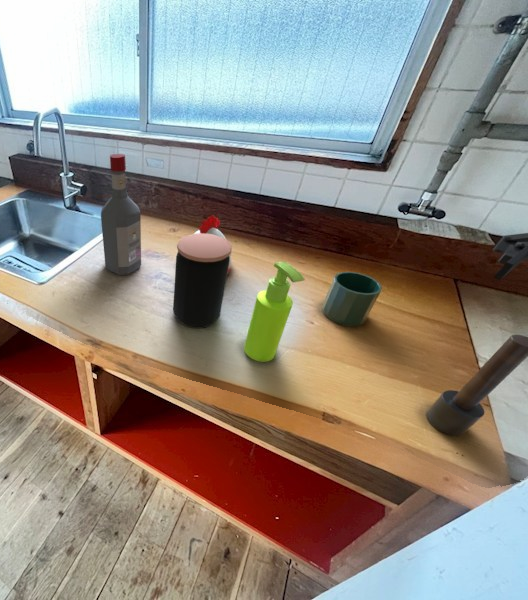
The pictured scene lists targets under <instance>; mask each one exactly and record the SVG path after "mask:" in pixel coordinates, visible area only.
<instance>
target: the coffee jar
mask: <svg viewBox="0 0 528 600" xmlns="http://www.w3.org/2000/svg"><path fill="white" fill-rule="evenodd" d="M225 238H226V237H225ZM225 238H222V237H220V236H217V235H212V234H204V233H200V234H194V233H191V234H187V235H184V236H183V237H180V239H179V240H178V241H177V244H176V248H177V253H176V257H175V271H174V286H173V287H174V288H173V304H172V310H173V315H174V317H176V319H177V320H178V321H179V322H180V323H181V324H183V325H184V326H187V327H190V328H194V329H202V328H204V329H205V328H207V327H211V326H212V325H213V324H215V323H216V322H218V320H219V318H220V317H221V313H222V312H221V311H222V305H223V300H224V295H225V289H226V283H227V278H228V274H229V273H228V267H229V261H230V256H229V254H230V253H231V254H232V251H231V249H232V247H233V246H232V244H231V242H230V241H229V240H227V238H226V239H225ZM227 273H228V274H227Z"/></svg>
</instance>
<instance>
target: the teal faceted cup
mask: <svg viewBox="0 0 528 600" xmlns="http://www.w3.org/2000/svg"><path fill="white" fill-rule="evenodd" d="M382 290H383V287H382V285H381V283H380V282H379V281H378V280H376V279H375V278H373V277H371V276H369V275H367V274H364V273H359V272H355V271H341V272H338V273H336V274H335V275H334V278H333V279H332V281H331V284H330V286H329V288H328V290H327V293H326V296H325V298H324V300H323V302H322V305H321V312H322V314H323V315H324V316H325V317H326V318H327V319H329V320H330V321H332V322H334V323H336V324H339V325H342V326H346V327H357V326H361V325H363V324H364V323H365V321H366V320H367V318H368V316H369V314H370V313H371V311H372V309H373V308H374V305H375V303H376V302H377V300H378V298H379V296H380V294H381V293H382Z"/></svg>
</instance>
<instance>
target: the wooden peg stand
mask: <svg viewBox="0 0 528 600" xmlns="http://www.w3.org/2000/svg"><path fill="white" fill-rule="evenodd" d="M527 358H528V336H526V335H522V334H512V335H511V336H510V337H508V339H507V340H505V342H504V343H503V344H502V345H501V346H500V347H498V349H497V350H496V351H495V352H494V353H493V354H492V356H490V358H489V359H488V360H487V361H486V362H485V363H484V364H483V365H482V366H481V368H479V370H477V372H476V373H475V374H473V375H472V377H470V379H469V380H468V381H467V382H466V383H465V384H464V385H463V386H462V388H461V389H460V390H453V389H451V390H450V389H449V390H445V391H443V392H442V393H441V394H440V395H439V397H438V398H437V399H436V400H435V401H434V402H433V403H432V404H431V405H430V406H429V408H428V409H427V410H426V411H425V418H426V420H427V421H428V423H429V424H430V425H431V426H432V427H433V428H435V429H436V430H437V431H439V432H441V433H443V434H445V435H447V436H451V437H461V436H463V435H464V434H465V433H467V431H468V430H469V429H470V428H472V427H473V426H474V425H475V424H477V422H478V421H479V420H480V419H482V417H484V415H485V409H484V407H483V405H482V404H481V402H482V401H483V400H484V399H485V398H486V397H487V396H488V395H490V394H491V393H492V392H493V391H494V390H495V389H496V388H497V387H498V386H499V385H500V384H501V383H502V382H503V381H504V380H505V379H506V378H507V377H509V375H510V374H511V373H512V372H513V371H515V370H516V369H517V367H519V366H520V365H521V364H522V363H523V362H524V361H525V360H526V359H527Z"/></svg>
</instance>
